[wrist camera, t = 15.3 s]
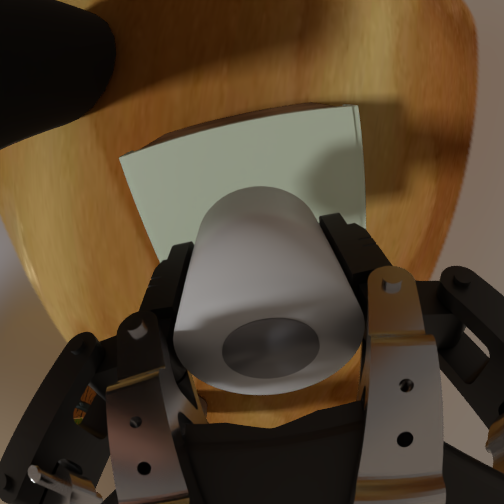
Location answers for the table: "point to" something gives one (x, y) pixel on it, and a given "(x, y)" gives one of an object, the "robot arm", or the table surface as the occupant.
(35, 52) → the coffee jar
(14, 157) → the table surface
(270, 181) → the lid
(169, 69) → the table surface
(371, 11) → the table surface
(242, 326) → the grey rounded cylinder
